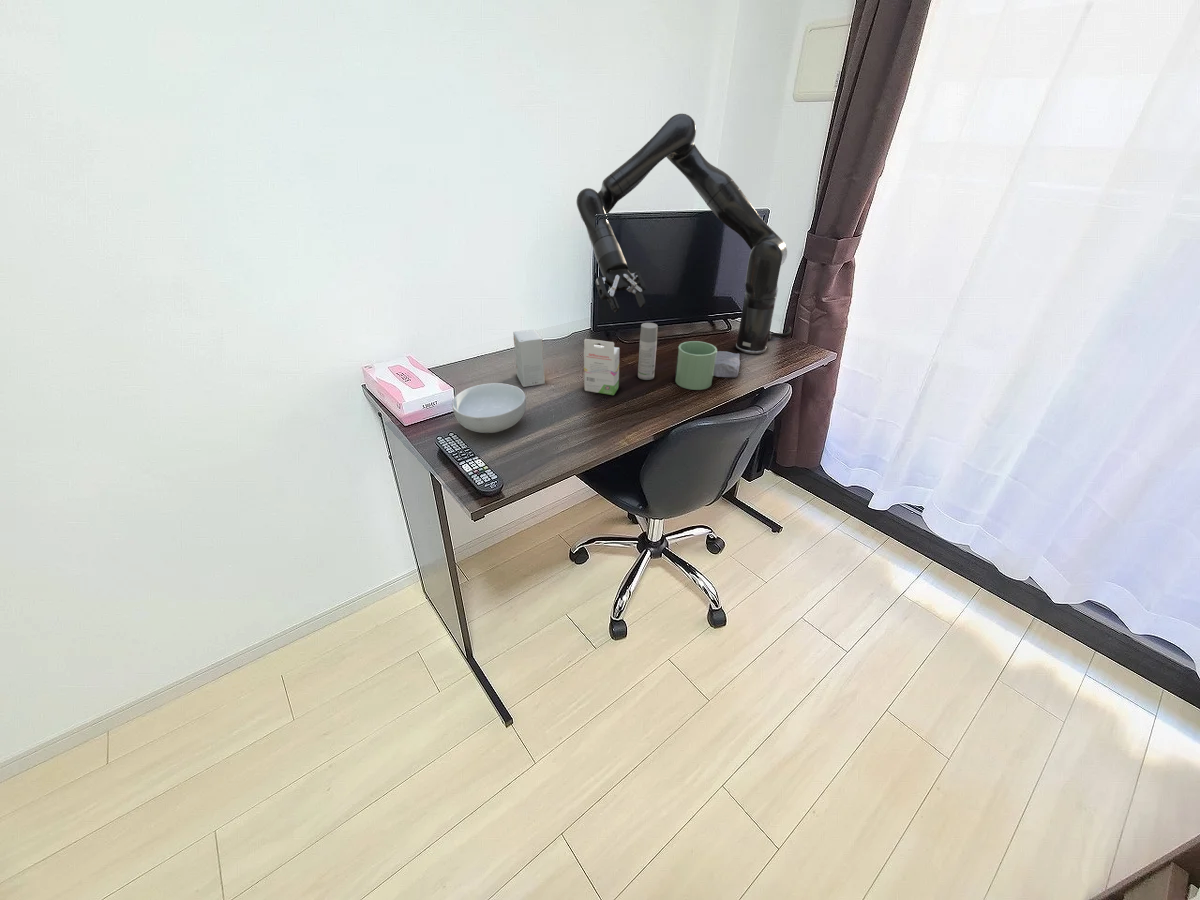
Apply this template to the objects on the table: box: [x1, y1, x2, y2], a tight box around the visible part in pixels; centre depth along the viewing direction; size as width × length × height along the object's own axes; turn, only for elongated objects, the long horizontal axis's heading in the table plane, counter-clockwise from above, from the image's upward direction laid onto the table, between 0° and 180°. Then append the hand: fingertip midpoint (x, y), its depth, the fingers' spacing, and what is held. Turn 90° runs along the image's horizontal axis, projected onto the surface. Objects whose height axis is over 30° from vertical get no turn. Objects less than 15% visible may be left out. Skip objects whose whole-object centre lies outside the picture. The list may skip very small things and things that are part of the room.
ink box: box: [583, 338, 621, 396], centre depth 131 cm, size 9×5×15 cm, turn 71°
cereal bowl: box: [451, 382, 527, 434], centre depth 117 cm, size 17×17×7 cm
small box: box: [513, 329, 546, 388], centre depth 136 cm, size 8×6×13 cm
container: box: [637, 322, 659, 381], centre depth 138 cm, size 5×5×15 cm
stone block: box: [713, 350, 741, 379], centre depth 146 cm, size 12×5×10 cm
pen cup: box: [674, 340, 718, 391], centre depth 137 cm, size 10×10×10 cm
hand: (630, 308), depth 140 cm, fingers open, 8 cm apart
